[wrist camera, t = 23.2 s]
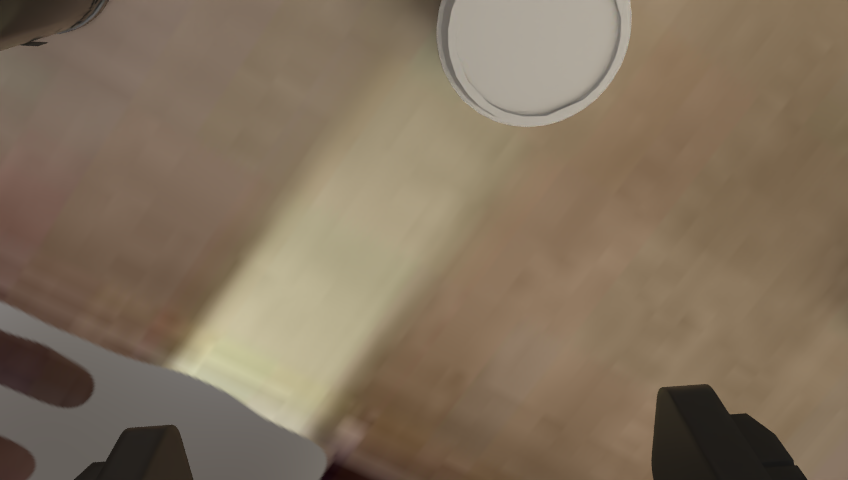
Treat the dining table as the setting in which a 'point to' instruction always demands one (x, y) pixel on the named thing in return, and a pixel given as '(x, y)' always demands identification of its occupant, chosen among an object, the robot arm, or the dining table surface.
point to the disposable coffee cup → (532, 55)
